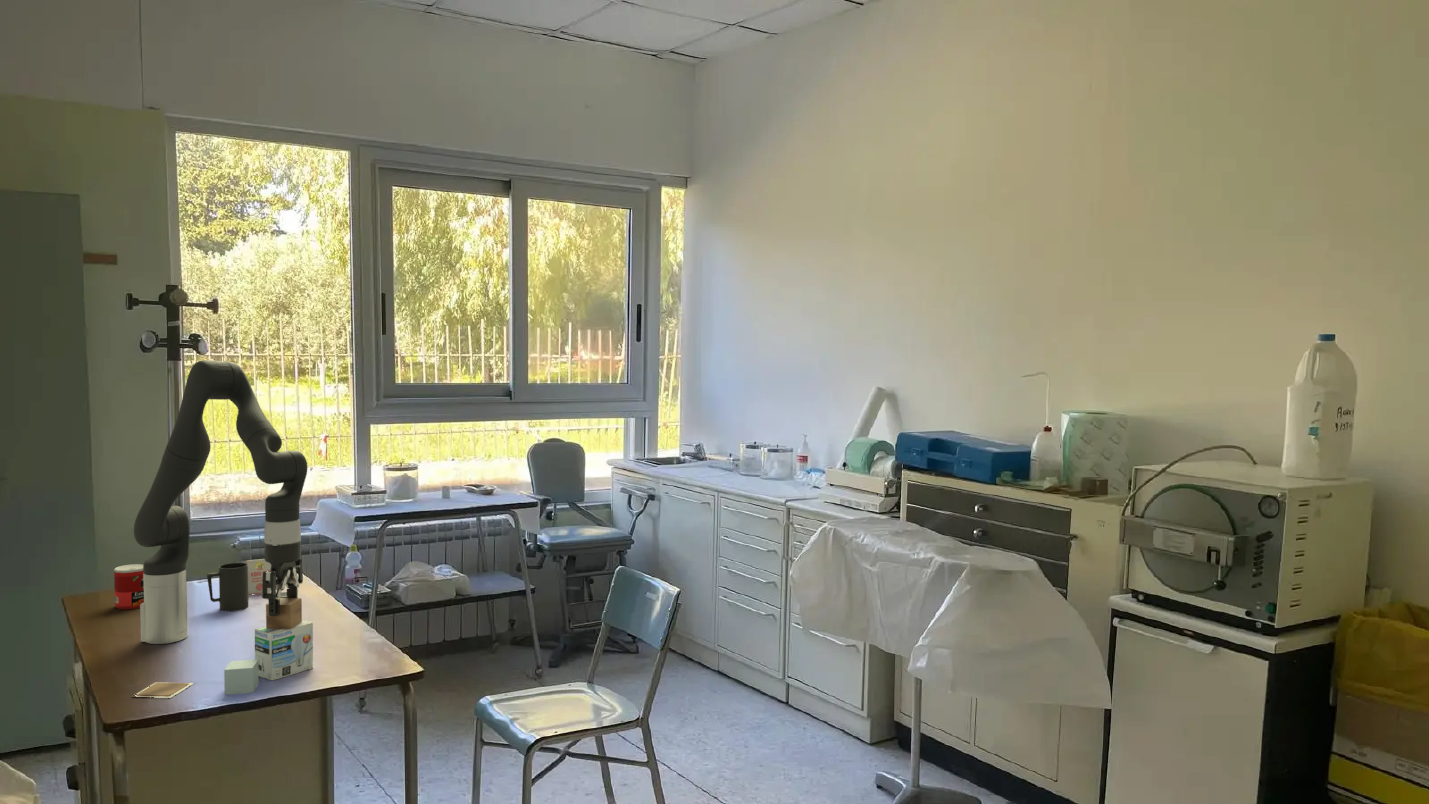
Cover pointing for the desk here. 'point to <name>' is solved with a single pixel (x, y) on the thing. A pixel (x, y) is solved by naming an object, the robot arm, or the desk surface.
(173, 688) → the swatch
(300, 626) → the light bulb box
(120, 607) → the canned food
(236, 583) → the mug
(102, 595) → the desk surface
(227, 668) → the pale green cube
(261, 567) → the beige rectangular box
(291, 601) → the walnut block
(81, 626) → the desk surface
